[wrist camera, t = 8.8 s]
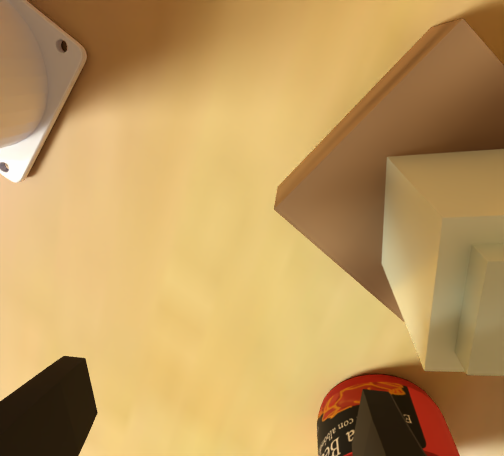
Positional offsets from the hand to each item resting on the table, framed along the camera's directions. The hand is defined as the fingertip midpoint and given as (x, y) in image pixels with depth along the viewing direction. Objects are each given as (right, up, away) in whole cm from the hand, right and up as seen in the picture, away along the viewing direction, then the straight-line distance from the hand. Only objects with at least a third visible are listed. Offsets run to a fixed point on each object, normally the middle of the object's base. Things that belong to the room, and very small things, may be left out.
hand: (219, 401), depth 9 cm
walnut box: (+9, +7, +8) cm, 13 cm away
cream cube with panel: (+8, +5, +5) cm, 11 cm away
